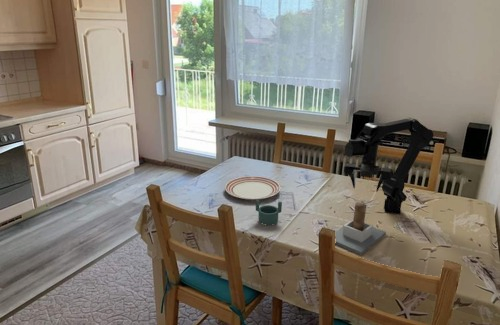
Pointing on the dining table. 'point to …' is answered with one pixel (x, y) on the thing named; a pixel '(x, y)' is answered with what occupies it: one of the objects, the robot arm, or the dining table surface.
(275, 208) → the teal handled pot
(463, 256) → the dining table surface
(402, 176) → the robot arm
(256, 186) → the dinner plate
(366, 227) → the cup socket
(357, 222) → the dowel post
